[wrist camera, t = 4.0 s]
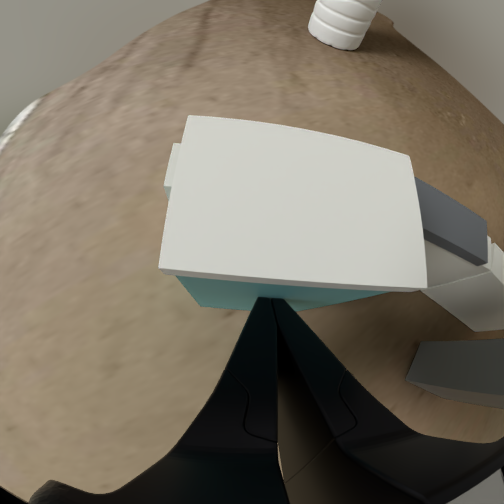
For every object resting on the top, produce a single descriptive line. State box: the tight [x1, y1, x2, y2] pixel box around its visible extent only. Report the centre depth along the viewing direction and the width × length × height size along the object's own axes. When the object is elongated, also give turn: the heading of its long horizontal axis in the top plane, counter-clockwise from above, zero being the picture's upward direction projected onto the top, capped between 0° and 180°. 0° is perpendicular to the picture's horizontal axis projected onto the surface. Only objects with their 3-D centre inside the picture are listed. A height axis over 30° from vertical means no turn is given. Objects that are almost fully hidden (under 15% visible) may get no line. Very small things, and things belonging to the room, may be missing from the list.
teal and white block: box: [158, 115, 427, 312], centre depth 11 cm, size 3×5×12 cm, turn 86°
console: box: [164, 143, 504, 332], centre depth 14 cm, size 26×4×8 cm, turn 73°
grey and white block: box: [405, 338, 504, 409], centre depth 11 cm, size 3×5×12 cm, turn 60°
